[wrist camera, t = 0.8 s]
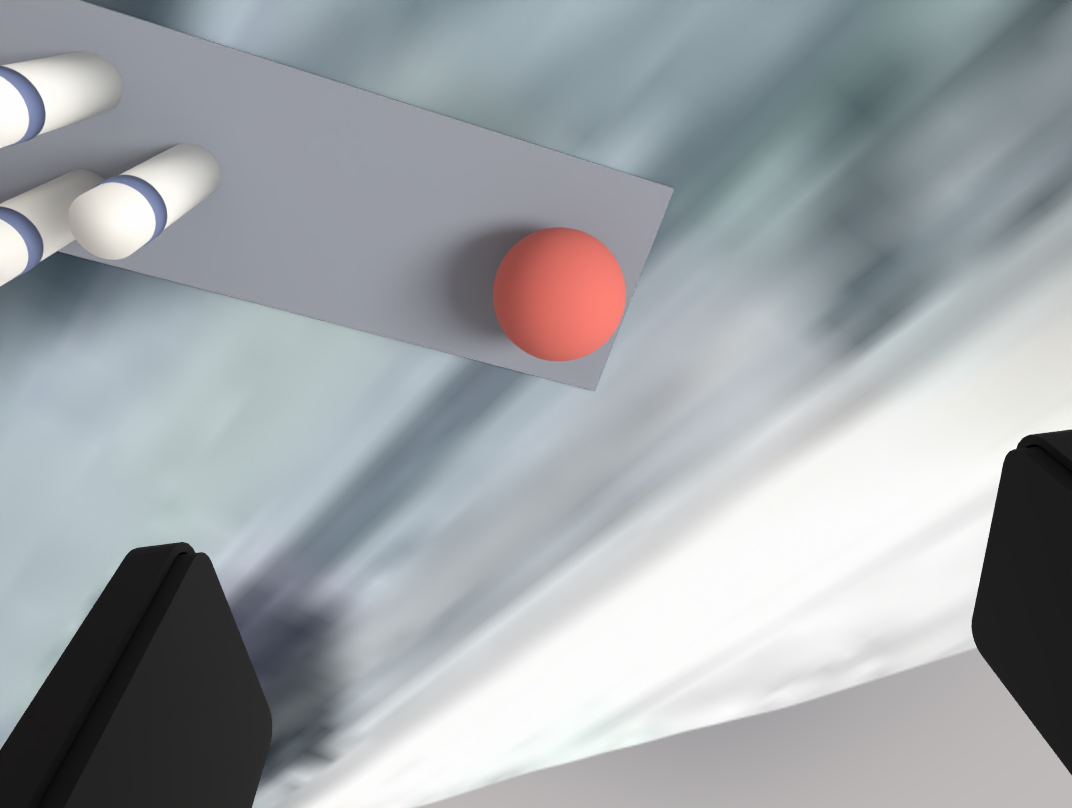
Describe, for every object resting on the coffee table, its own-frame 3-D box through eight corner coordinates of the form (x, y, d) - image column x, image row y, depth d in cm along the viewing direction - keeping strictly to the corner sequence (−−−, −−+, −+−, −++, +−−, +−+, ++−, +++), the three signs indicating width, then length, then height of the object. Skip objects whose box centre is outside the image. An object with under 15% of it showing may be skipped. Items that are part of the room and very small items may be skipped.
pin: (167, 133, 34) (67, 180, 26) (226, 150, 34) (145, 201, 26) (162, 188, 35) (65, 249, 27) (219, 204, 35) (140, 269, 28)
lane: (-28, -35, 31) (-31, -35, 30) (673, 187, 36) (674, 188, 36) (-21, 228, 36) (-24, 230, 35) (594, 389, 41) (595, 391, 41)
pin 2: (61, 160, 34) (-69, 214, 26) (121, 176, 35) (9, 235, 27) (60, 213, 35) (-66, 281, 27) (117, 229, 36) (10, 300, 28)
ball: (513, 195, 36) (515, 233, 31) (634, 232, 37) (656, 274, 32) (479, 312, 39) (476, 365, 33) (592, 342, 40) (607, 399, 34)
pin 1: (64, 41, 32) (-78, 61, 24) (127, 60, 32) (9, 86, 25) (62, 102, 33) (-74, 141, 25) (124, 120, 34) (9, 164, 26)
